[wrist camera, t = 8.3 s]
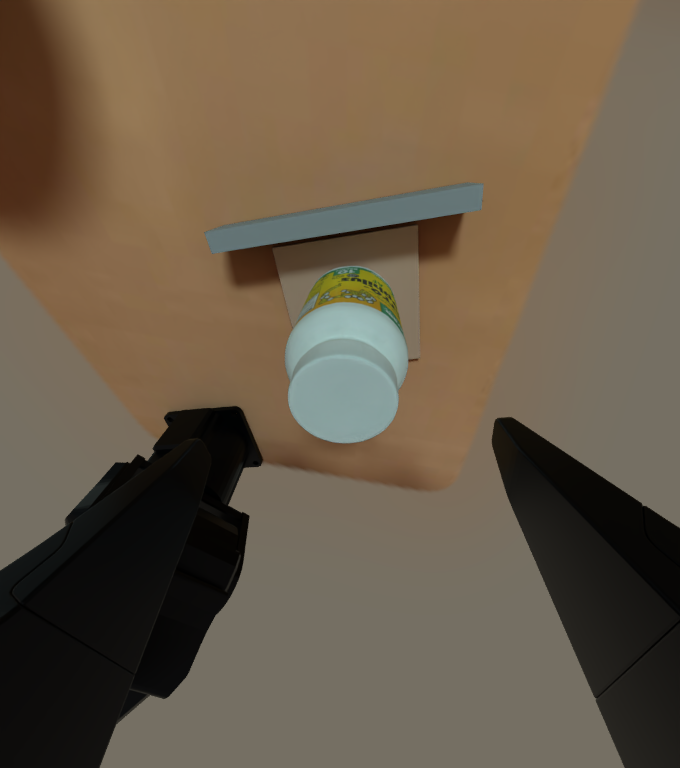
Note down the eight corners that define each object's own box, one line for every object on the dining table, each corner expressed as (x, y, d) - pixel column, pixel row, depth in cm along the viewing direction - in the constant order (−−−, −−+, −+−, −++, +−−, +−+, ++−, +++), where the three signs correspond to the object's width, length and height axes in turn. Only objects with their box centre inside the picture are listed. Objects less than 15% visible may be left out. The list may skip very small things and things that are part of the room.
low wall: (466, 205, 16) (481, 209, 14) (229, 244, 18) (212, 253, 16) (467, 182, 15) (483, 183, 13) (223, 225, 17) (204, 232, 15)
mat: (419, 355, 21) (420, 358, 21) (304, 366, 22) (303, 369, 22) (416, 224, 17) (417, 225, 16) (273, 247, 18) (272, 248, 17)
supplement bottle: (292, 318, 20) (242, 415, 12) (339, 242, 17) (314, 301, 9) (362, 362, 21) (359, 474, 13) (415, 298, 18) (451, 391, 10)
